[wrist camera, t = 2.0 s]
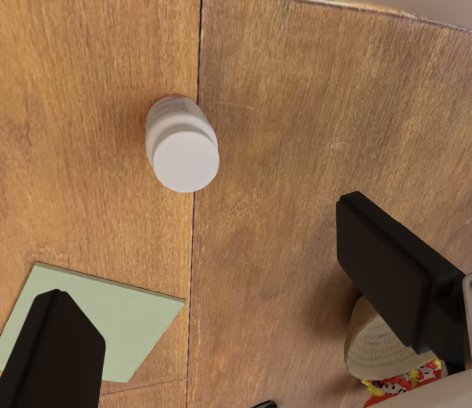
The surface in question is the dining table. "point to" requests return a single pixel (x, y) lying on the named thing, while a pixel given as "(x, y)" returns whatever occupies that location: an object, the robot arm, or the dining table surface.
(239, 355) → the dining table surface
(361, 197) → the robot arm
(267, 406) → the toy car
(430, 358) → the bowl
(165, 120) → the pill bottle
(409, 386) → the molecule
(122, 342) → the mat
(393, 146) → the dining table surface
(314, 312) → the dining table surface
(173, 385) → the dining table surface
